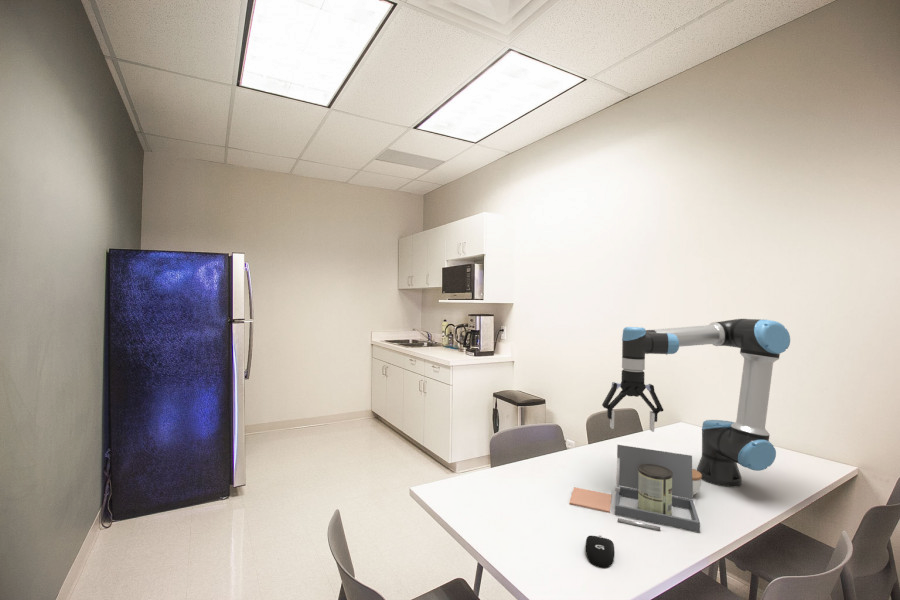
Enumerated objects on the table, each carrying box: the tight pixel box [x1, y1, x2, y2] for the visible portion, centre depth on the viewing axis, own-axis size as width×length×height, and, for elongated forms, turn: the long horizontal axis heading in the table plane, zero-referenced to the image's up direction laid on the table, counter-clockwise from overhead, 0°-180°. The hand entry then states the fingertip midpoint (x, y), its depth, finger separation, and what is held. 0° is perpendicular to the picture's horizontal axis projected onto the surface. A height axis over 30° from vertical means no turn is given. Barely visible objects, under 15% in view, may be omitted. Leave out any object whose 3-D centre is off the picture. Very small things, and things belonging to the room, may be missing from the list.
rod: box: [617, 517, 661, 532], centre depth 127 cm, size 12×1×1 cm, turn 66°
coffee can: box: [637, 464, 673, 516], centre depth 136 cm, size 10×10×14 cm
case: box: [614, 444, 701, 534], centre depth 138 cm, size 24×20×17 cm
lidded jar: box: [692, 468, 702, 496], centre depth 151 cm, size 11×11×9 cm
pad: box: [568, 487, 612, 514], centre depth 143 cm, size 13×13×1 cm
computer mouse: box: [584, 535, 615, 569], centre depth 112 cm, size 8×12×4 cm, turn 159°
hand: (631, 429), depth 146 cm, fingers open, 13 cm apart
